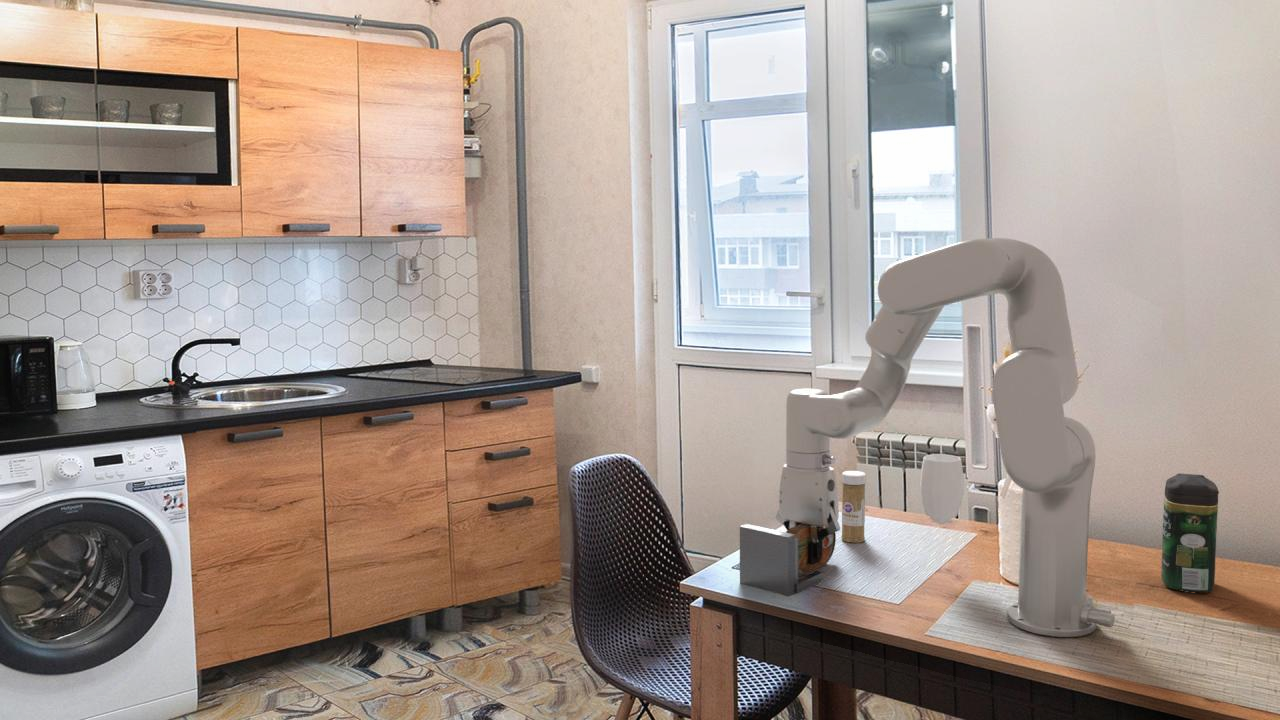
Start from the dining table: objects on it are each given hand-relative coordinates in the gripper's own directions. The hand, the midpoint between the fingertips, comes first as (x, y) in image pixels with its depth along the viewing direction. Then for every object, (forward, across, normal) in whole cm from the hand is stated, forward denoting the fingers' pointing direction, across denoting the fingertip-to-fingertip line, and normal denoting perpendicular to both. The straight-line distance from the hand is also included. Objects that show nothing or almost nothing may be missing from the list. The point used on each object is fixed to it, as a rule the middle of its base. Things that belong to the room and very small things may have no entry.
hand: (806, 559), depth 181 cm
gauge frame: (+2, 0, +8) cm, 8 cm away
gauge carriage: (+1, +1, +9) cm, 9 cm away
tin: (+2, 0, 0) cm, 2 cm away
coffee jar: (+2, -53, -34) cm, 63 cm away
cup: (+2, -19, -13) cm, 23 cm away
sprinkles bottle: (+2, +3, -21) cm, 21 cm away
